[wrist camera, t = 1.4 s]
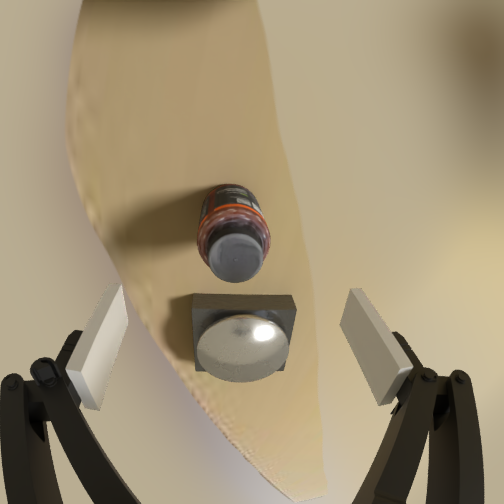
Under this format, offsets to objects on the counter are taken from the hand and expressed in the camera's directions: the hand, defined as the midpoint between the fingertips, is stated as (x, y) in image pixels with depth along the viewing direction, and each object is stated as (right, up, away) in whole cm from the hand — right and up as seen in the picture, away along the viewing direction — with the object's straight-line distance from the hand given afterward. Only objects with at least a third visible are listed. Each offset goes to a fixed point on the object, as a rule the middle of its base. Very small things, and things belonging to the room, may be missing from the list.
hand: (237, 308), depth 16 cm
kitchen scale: (-1, -7, +22) cm, 23 cm away
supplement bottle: (-1, +8, +15) cm, 17 cm away
